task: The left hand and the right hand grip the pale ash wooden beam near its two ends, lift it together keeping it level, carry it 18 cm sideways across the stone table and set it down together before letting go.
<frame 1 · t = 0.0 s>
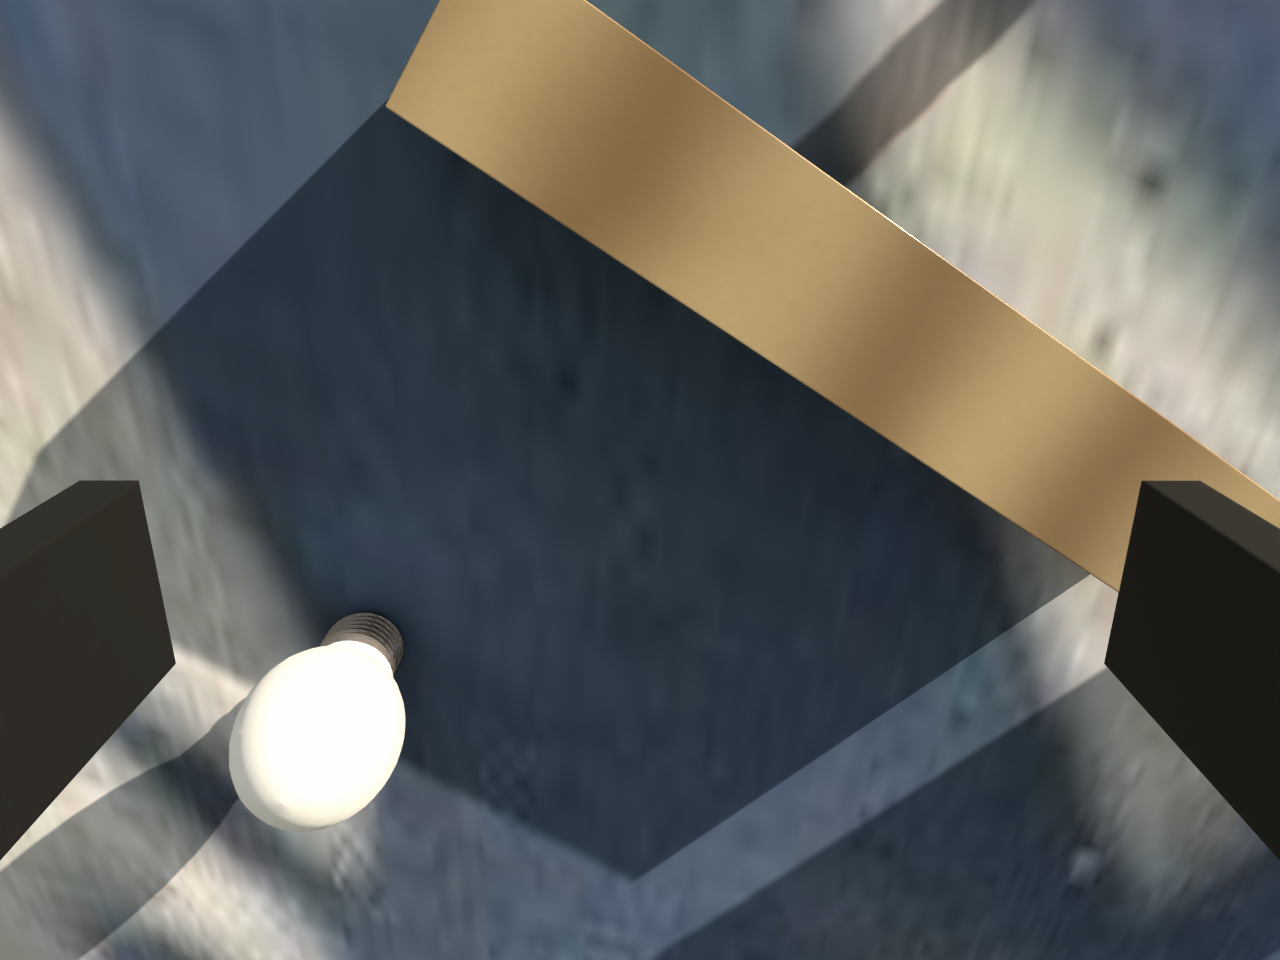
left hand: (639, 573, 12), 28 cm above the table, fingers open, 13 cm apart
light bulb: (367, 648, 45), on the table
ash beam: (844, 299, 39), on the table
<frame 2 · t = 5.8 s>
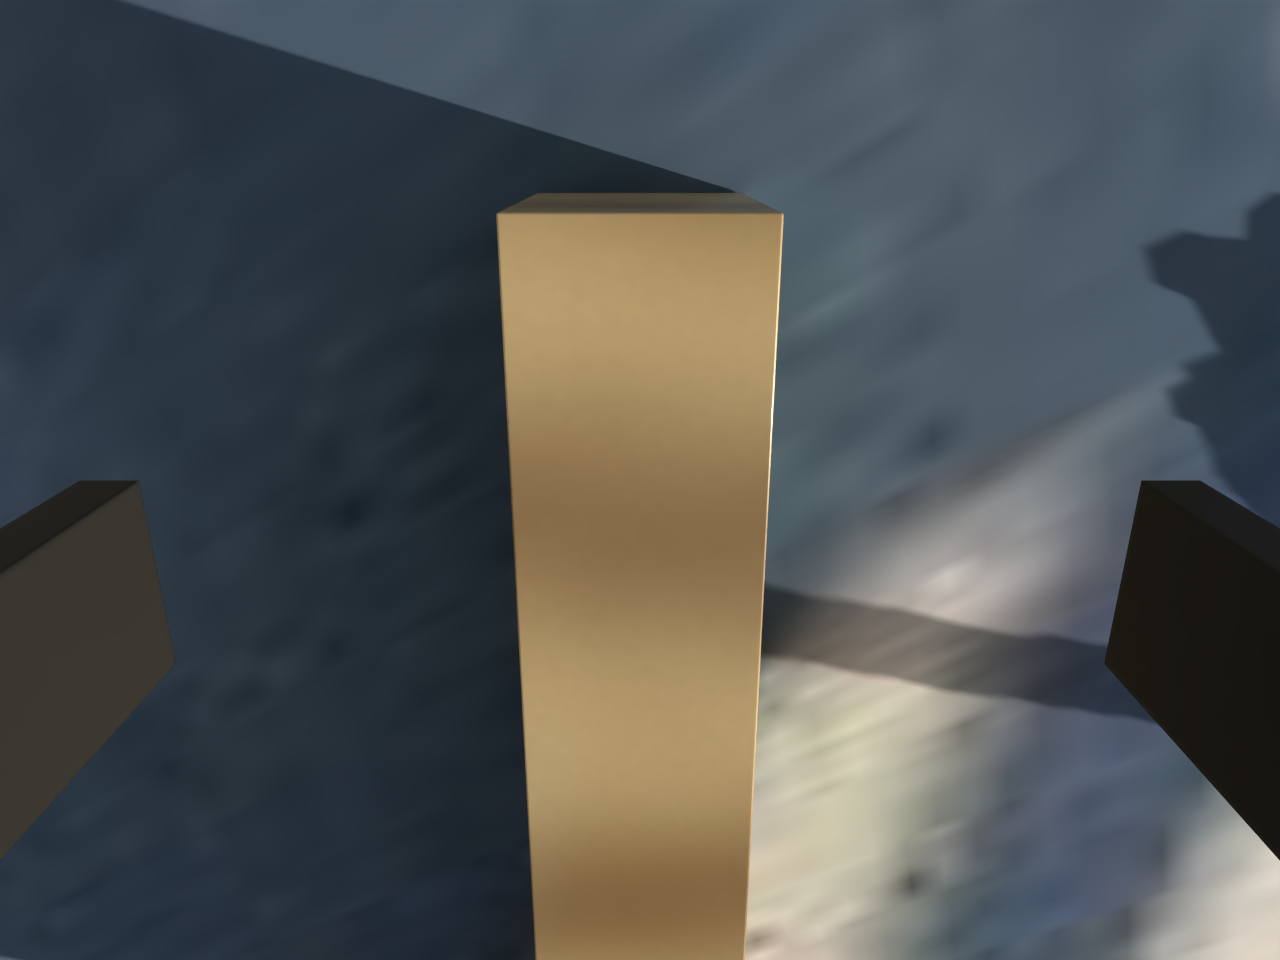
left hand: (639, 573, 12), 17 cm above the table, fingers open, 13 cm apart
ash beam: (639, 718, 33), on the table, touching right hand
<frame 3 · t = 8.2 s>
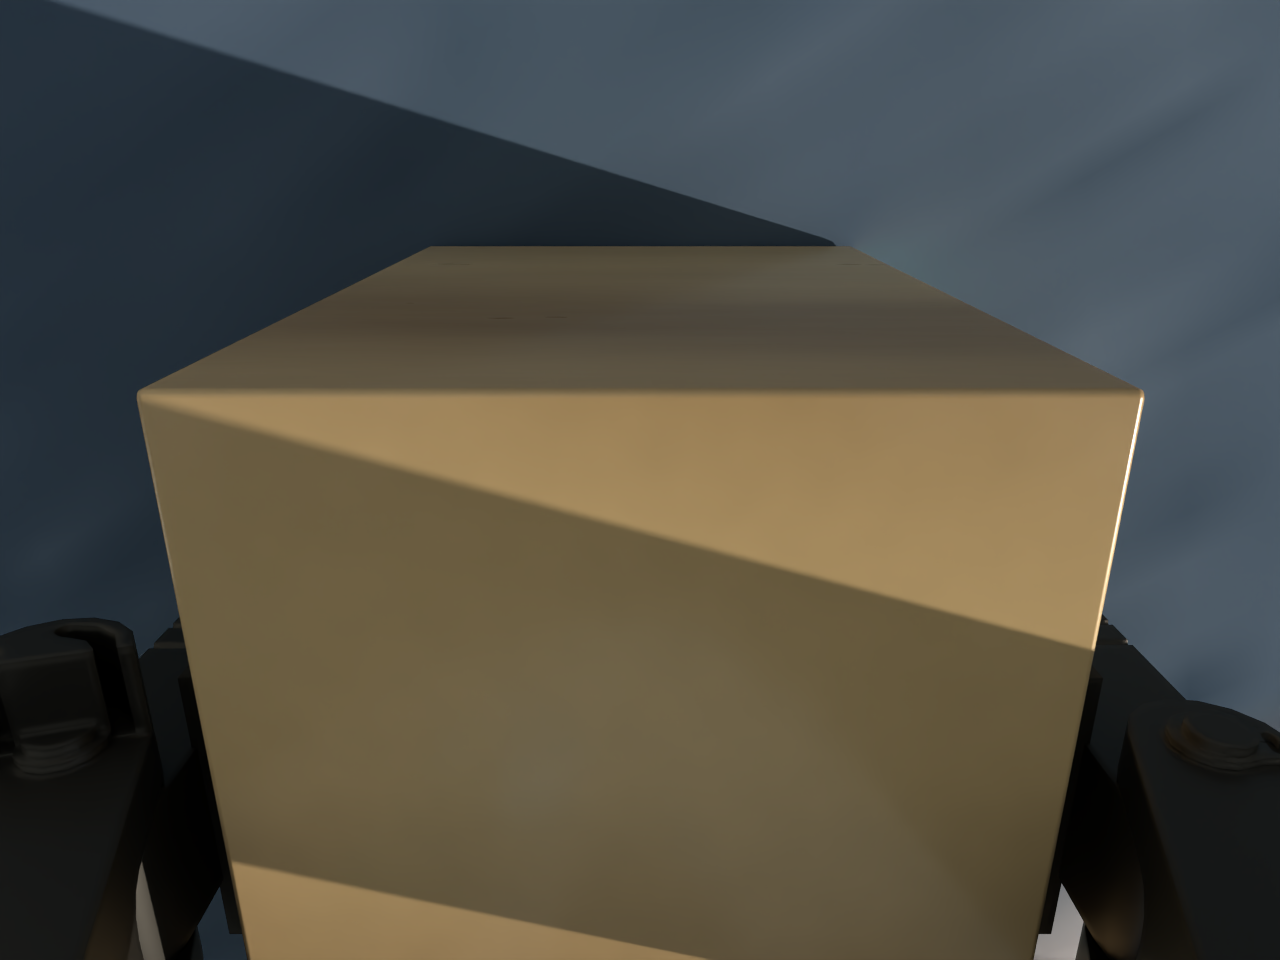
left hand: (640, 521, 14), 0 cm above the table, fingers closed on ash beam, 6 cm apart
when the left hand's fingers open (2 cm above the table, at t = 14.6 s): ash beam drops 1 cm, on the table.
when the right hand's fingers open (2 cm above the table, at t = 14.6 s): ash beam drops 1 cm, on the table.
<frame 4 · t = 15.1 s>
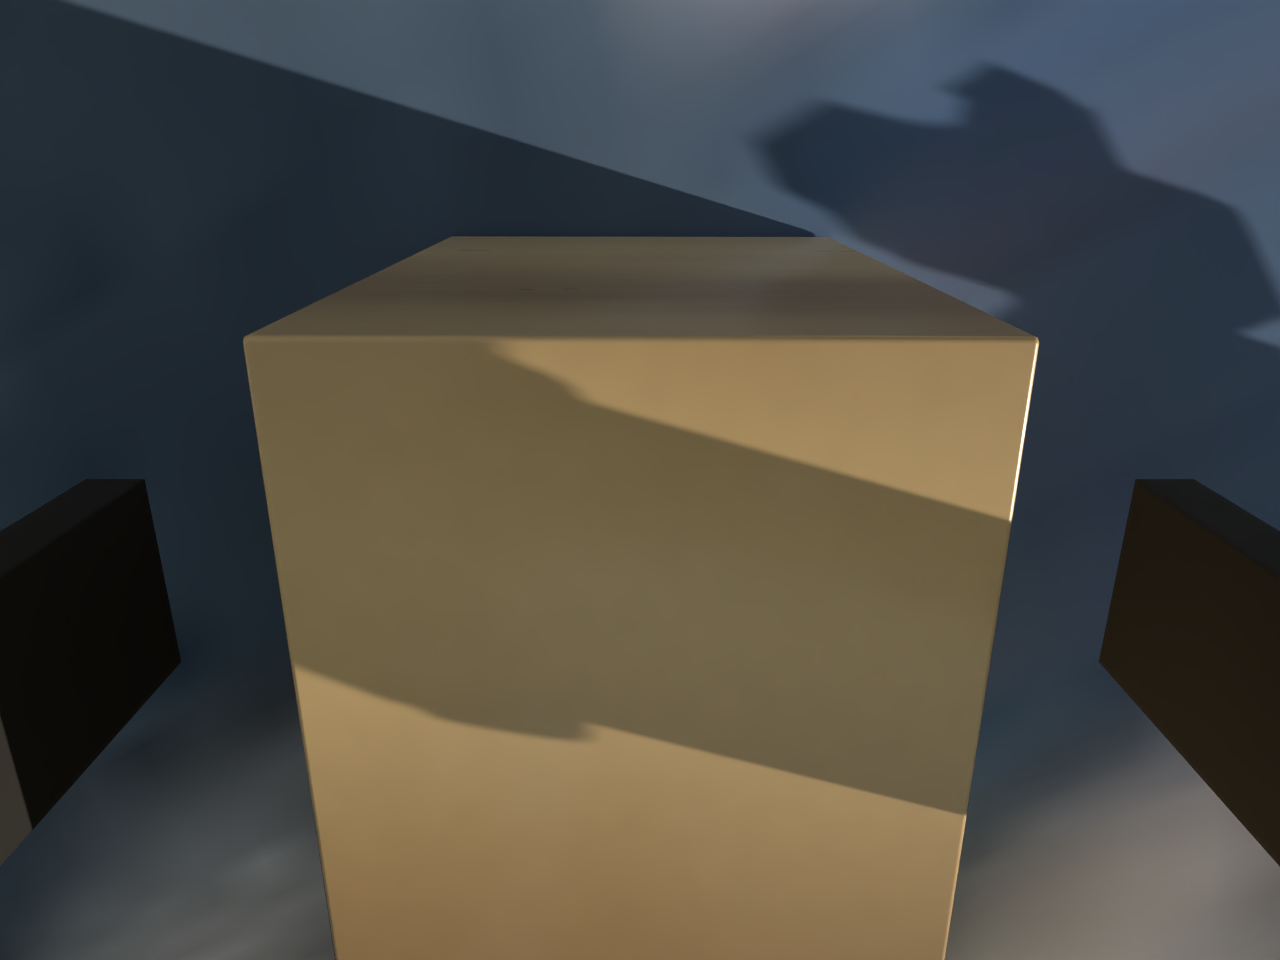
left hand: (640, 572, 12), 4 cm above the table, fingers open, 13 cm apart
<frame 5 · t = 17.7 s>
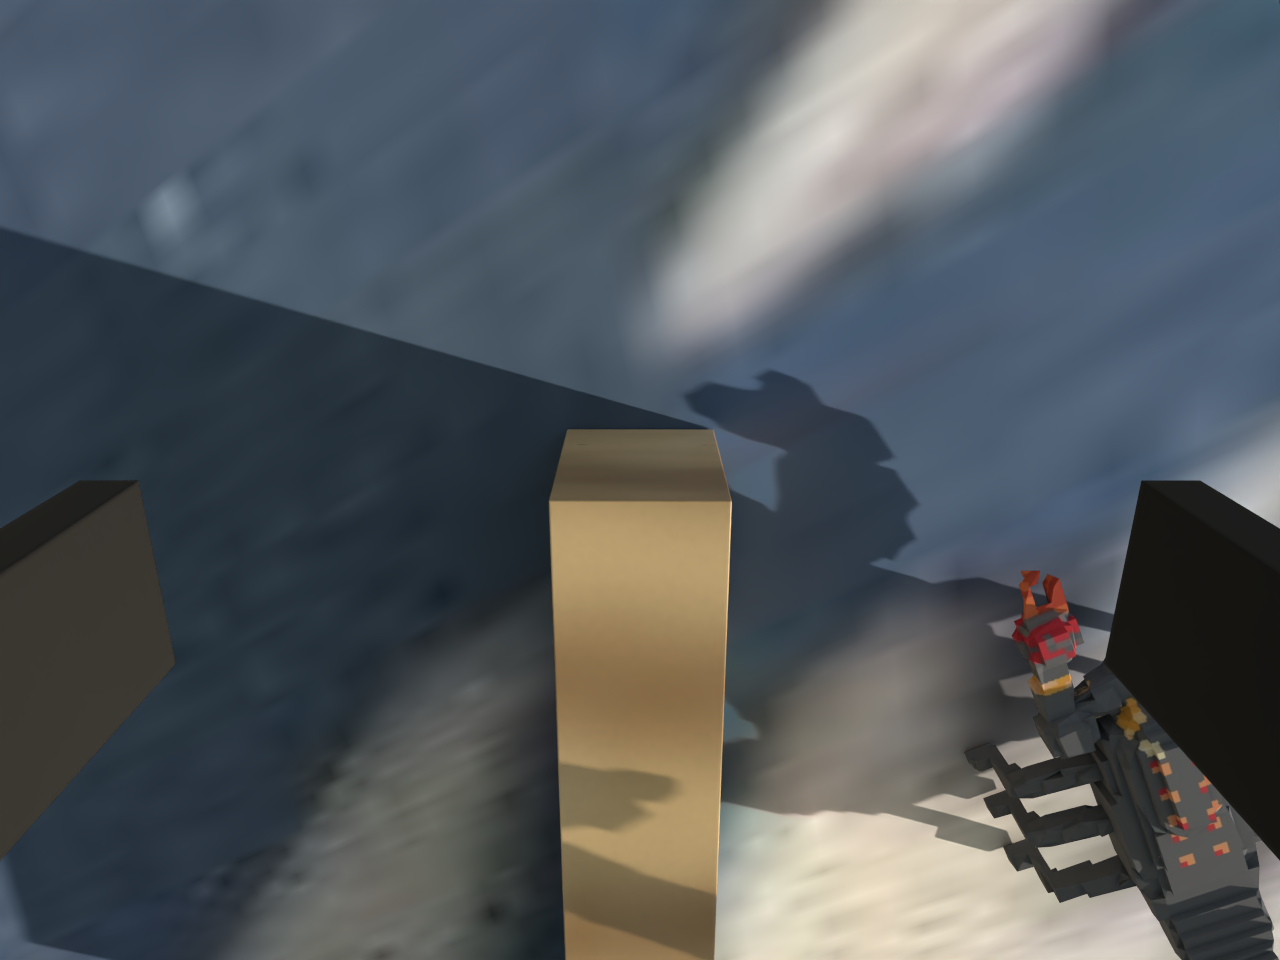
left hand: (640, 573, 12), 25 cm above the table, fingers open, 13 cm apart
toy: (1125, 726, 42), on the table
ash beam: (639, 790, 44), on the table
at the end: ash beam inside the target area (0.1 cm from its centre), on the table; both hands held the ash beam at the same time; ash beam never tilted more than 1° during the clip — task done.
